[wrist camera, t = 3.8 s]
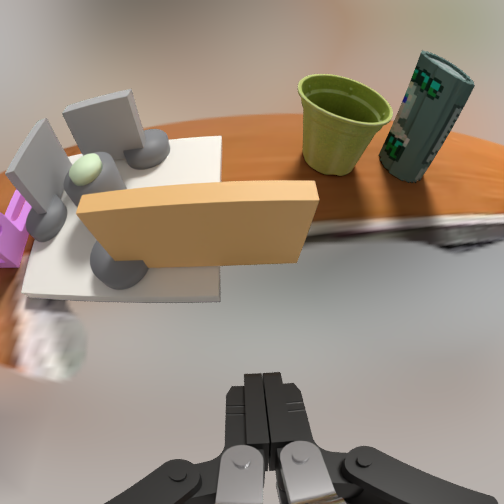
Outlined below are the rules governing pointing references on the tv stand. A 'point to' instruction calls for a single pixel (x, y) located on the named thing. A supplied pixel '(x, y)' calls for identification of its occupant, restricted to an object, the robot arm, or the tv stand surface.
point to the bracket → (13, 232)
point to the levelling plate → (78, 241)
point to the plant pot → (339, 121)
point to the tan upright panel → (196, 226)
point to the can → (425, 117)
